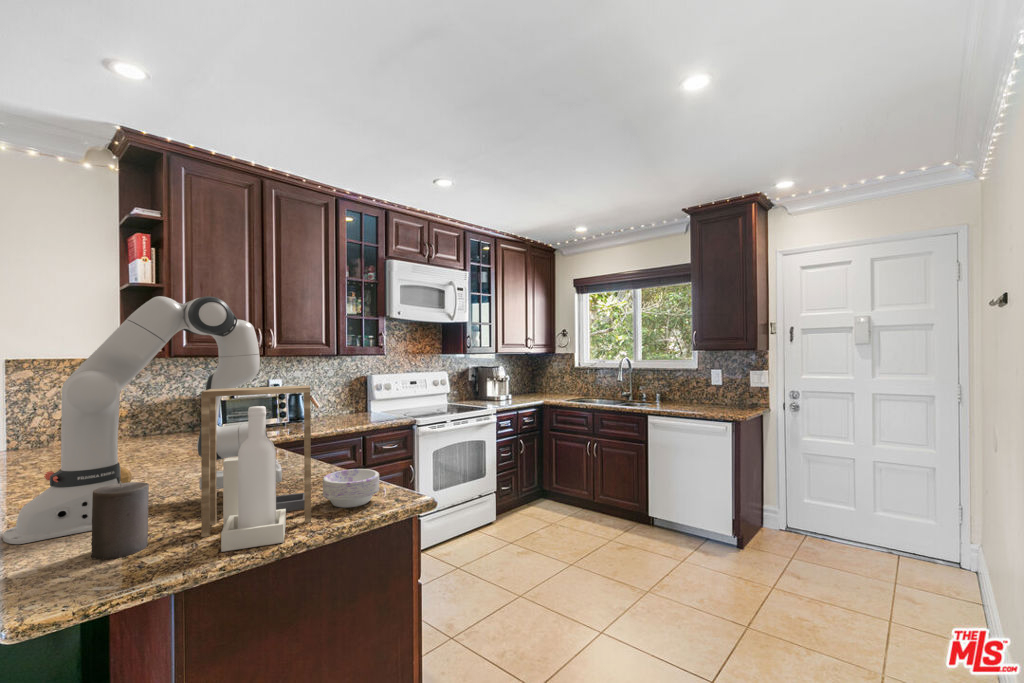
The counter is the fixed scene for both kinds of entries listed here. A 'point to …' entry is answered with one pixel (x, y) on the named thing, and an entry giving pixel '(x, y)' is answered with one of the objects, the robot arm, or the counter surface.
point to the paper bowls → (350, 487)
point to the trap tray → (290, 502)
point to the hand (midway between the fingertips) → (239, 484)
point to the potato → (125, 475)
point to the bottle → (256, 474)
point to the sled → (230, 533)
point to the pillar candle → (119, 520)
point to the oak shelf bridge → (210, 447)
